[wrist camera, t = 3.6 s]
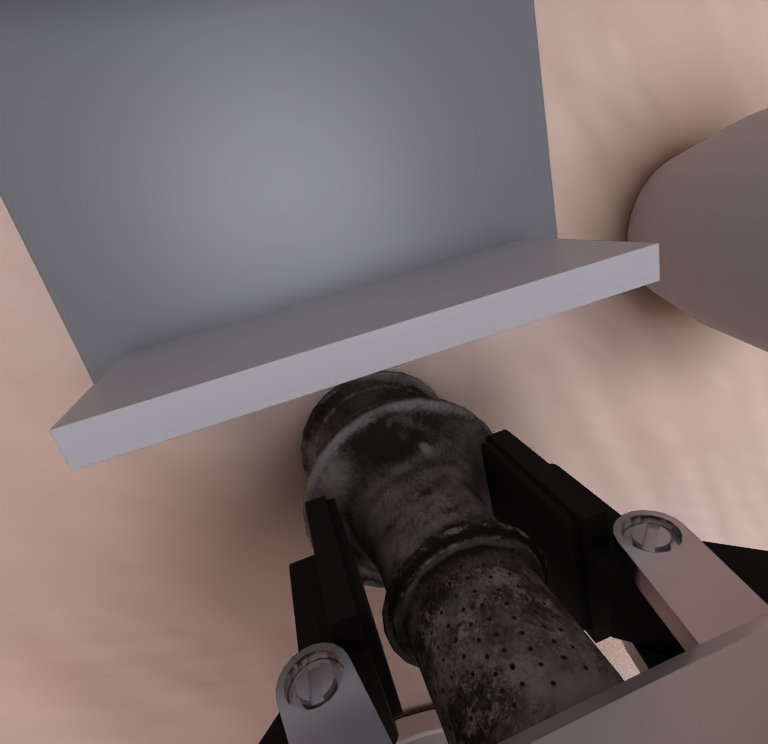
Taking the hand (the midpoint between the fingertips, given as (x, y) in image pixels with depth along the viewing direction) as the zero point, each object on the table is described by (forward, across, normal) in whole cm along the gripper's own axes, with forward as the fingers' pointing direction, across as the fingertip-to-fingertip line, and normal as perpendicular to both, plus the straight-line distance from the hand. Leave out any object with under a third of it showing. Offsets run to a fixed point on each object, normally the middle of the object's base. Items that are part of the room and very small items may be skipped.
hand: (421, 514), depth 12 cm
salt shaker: (+4, 0, 0) cm, 4 cm away
